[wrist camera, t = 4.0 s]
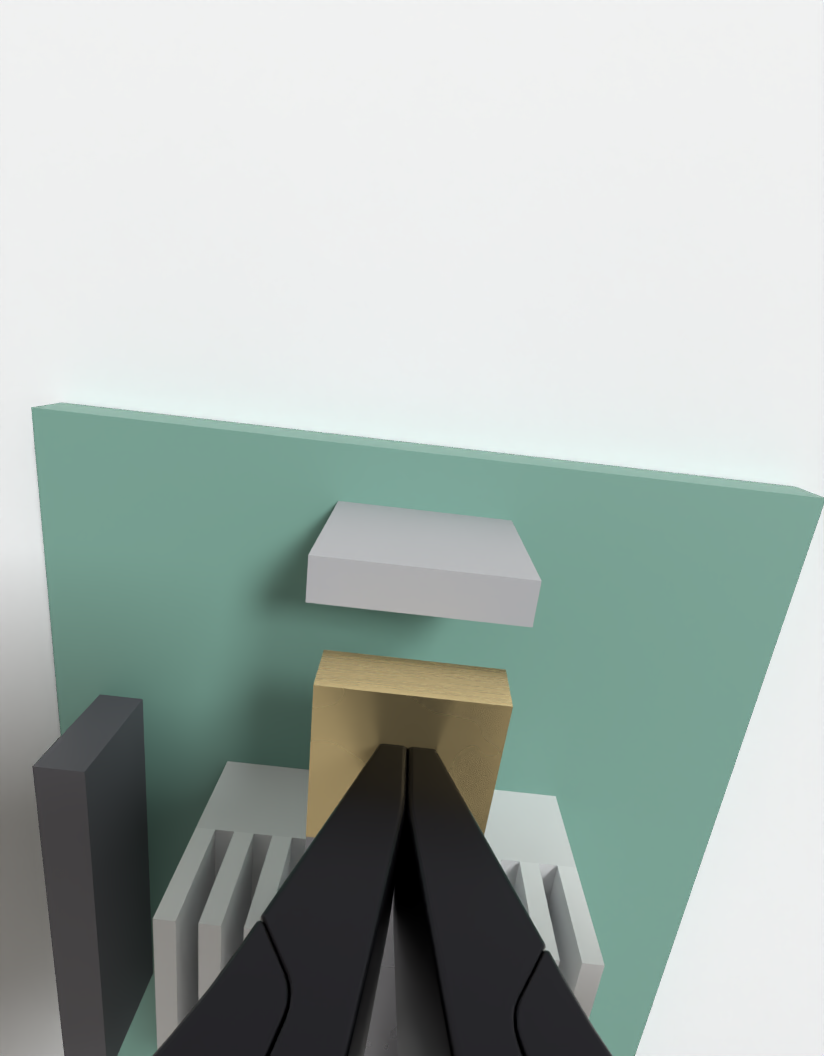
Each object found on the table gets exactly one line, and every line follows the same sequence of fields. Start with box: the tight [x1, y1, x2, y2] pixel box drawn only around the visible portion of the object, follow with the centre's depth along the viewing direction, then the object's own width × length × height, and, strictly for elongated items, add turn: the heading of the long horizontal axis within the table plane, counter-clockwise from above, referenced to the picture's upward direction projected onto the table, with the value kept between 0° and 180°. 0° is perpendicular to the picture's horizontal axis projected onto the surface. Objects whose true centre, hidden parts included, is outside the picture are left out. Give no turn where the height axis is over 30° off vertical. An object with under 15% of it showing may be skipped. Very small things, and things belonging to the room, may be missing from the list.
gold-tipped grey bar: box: [305, 650, 513, 1056], centre depth 12 cm, size 17×3×1 cm, turn 174°
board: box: [31, 403, 824, 1056], centre depth 13 cm, size 22×16×5 cm
